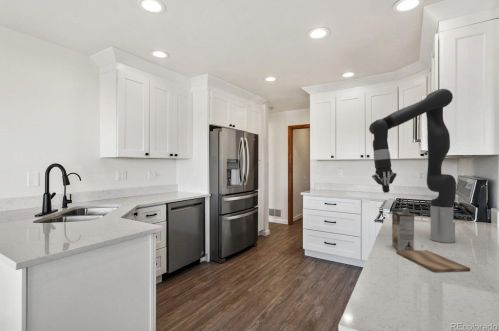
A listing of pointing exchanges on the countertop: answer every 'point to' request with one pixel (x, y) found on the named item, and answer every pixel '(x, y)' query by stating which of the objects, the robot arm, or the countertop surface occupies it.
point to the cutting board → (432, 261)
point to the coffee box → (403, 231)
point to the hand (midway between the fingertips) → (386, 192)
